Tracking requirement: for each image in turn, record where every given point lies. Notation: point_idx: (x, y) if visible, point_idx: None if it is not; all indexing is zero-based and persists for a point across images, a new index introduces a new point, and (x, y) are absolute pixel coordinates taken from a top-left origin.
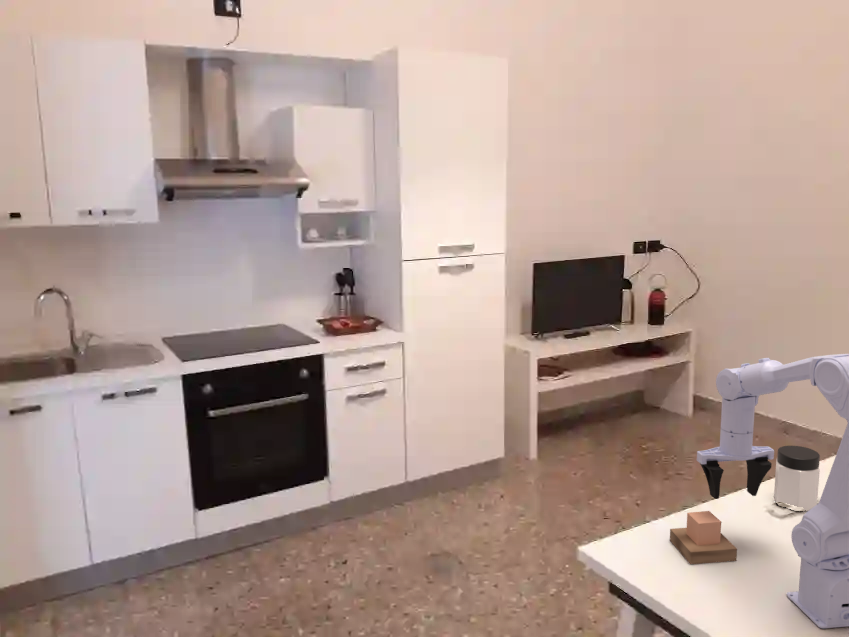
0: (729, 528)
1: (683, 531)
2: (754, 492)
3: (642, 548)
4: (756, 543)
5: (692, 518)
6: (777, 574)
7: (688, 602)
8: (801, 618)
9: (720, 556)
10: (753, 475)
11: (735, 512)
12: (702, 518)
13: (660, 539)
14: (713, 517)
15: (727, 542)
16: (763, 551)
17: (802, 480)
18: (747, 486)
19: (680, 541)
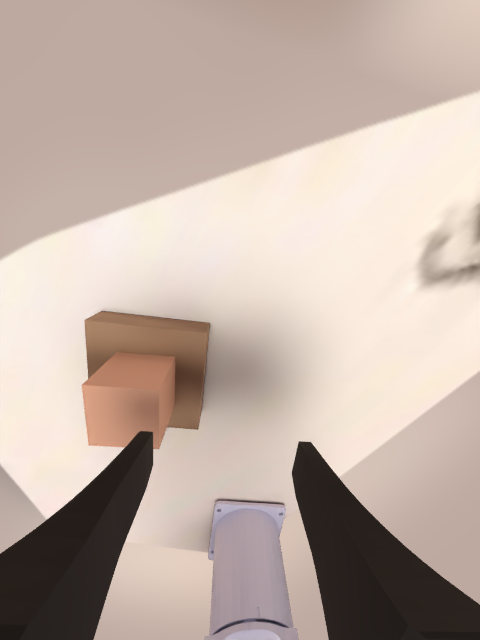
0: (273, 296)
1: (114, 340)
2: (296, 493)
3: (23, 327)
4: (284, 366)
5: (86, 412)
6: (244, 455)
7: (55, 486)
8: (201, 535)
9: None
10: (327, 562)
11: (347, 222)
12: (113, 424)
13: (81, 301)
14: (150, 425)
15: (193, 405)
16: (275, 393)
17: None
18: (305, 459)
19: (89, 374)
